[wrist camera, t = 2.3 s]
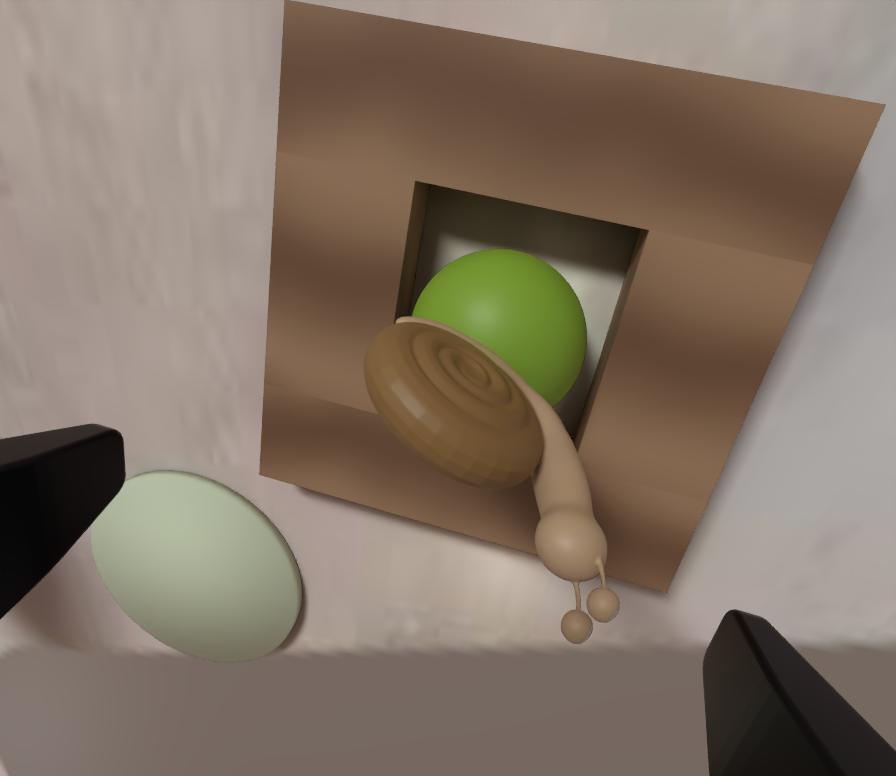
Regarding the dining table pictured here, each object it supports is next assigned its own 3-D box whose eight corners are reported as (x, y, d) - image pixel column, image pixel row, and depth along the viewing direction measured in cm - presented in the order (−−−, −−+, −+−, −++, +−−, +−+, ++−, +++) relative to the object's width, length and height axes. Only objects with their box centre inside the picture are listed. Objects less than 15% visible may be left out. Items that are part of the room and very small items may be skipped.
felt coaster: (294, 679, 29) (288, 688, 29) (107, 616, 31) (98, 624, 30) (311, 507, 25) (305, 515, 24) (92, 443, 26) (81, 449, 26)
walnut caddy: (659, 557, 22) (667, 592, 20) (283, 451, 24) (259, 474, 22) (849, 111, 16) (886, 104, 14) (314, 16, 18) (284, -1, 16)
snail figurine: (541, 431, 21) (503, 717, 10) (404, 329, 21) (214, 512, 10) (642, 321, 19) (732, 536, 8) (490, 204, 19) (368, 264, 8)
